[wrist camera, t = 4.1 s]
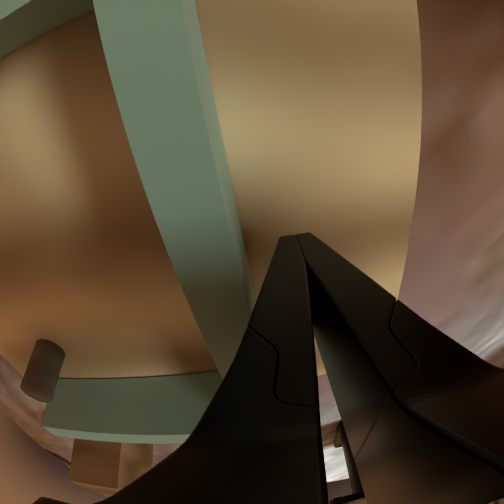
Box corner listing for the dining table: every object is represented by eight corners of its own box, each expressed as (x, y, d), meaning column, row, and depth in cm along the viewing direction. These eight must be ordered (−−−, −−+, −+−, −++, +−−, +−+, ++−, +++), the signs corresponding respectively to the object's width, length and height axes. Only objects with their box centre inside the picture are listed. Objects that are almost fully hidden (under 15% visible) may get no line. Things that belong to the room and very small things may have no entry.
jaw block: (153, 434, 22) (150, 501, 17) (111, 433, 22) (105, 496, 17) (125, 410, 19) (117, 488, 14) (80, 408, 19) (68, 480, 14)
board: (373, 342, 16) (395, 402, 13) (44, 377, 16) (31, 426, 13) (380, -74, 5) (453, -106, 2) (-112, 119, 5) (-164, 157, 2)
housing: (272, 377, 14) (280, 435, 12) (65, 389, 15) (54, 435, 12) (182, -61, 4) (159, -112, 2) (-105, 117, 5) (-156, 153, 2)
